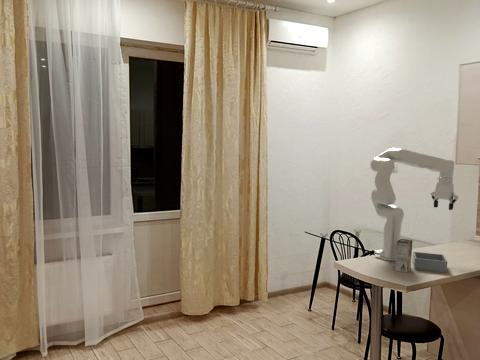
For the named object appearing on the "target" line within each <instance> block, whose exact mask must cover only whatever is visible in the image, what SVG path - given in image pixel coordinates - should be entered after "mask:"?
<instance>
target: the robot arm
mask: <svg viewBox="0 0 480 360" xmlns="http://www.w3.org/2000/svg"><path fill="white" fill-rule="evenodd" d="M395 163H396V164H402V165H406V166H409V167H413V168H419V169H427V170H428V171H430V172H435V173H436V172H437V173H439V174H438V175H439V177H437V183H436V186H435V189H434V191H433V192H430V196H431V198H432V200H433V208H438V206H439V200H448V201H449V203H448V210H449V211H452V210H454V204H455V203H456V202H457V200H458V199H459V198H460V197H459V196H458V195H457V194H455V186H454V183H453V180H454V169H455V161H454V160H451V159H444V158H441V157H437V156H433V155H428V154H425V153H420V152H416V151H411V150H409V149H406V148H405V149H404V148H399V147H398V148H397V147H392V148H389V149H387V150H385V151H384V152H382V153H380V154H379V155H377V156H375V157H374V158H373V159H371V162H370V168H371V170H372V171H373V172H376V175H375V177H374V185H375V188H373V190H372V191H371V196H370V197H371V201H372V203H373V206H374V209H375V212H376V214H377V216H378V217H379V218H380V219H383V220H385V224H384V226H383V236H382V237H383V238H382V239H383V241H382V249H380V250H379V249H374V252H373V253H374V254H376V255H379V259H381V260H384V261H390V262H396V252H397V241H398V240H400V239H402V237H401V236H402V234H401V232H402V224H403V221H404V215H405V213H404V210H403V208H401V207H400V206H398V205H394V204H395V202H396V198H397V197H396V194H395V191H394V189H393V185H392V182H391V176H392V173H393V172H394V170H395V167H396V165H395Z"/></svg>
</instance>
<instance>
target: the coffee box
mask: <svg viewBox="0 0 480 360" xmlns="http://www.w3.org/2000/svg"><path fill="white" fill-rule="evenodd" d="M413 241H414V240H413V239H406V238H400V240H398V241H397V252H396V261H395V271H396V272H402V273H409V271H410V270H411V268H412V257H413Z"/></svg>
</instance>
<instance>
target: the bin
mask: <svg viewBox="0 0 480 360" xmlns="http://www.w3.org/2000/svg"><path fill="white" fill-rule="evenodd" d="M411 263H412V266H413V268H414V270H418V271H419V270H420V271H421V270H422V271H427V272H438V273H445V274H446V273H447V272H448V271H447V270H448V260H447V259H446V257H445V255H444V254H443V253H442V254H441V253H440V254H439V253H433V252H421V251H412V260H411Z"/></svg>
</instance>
